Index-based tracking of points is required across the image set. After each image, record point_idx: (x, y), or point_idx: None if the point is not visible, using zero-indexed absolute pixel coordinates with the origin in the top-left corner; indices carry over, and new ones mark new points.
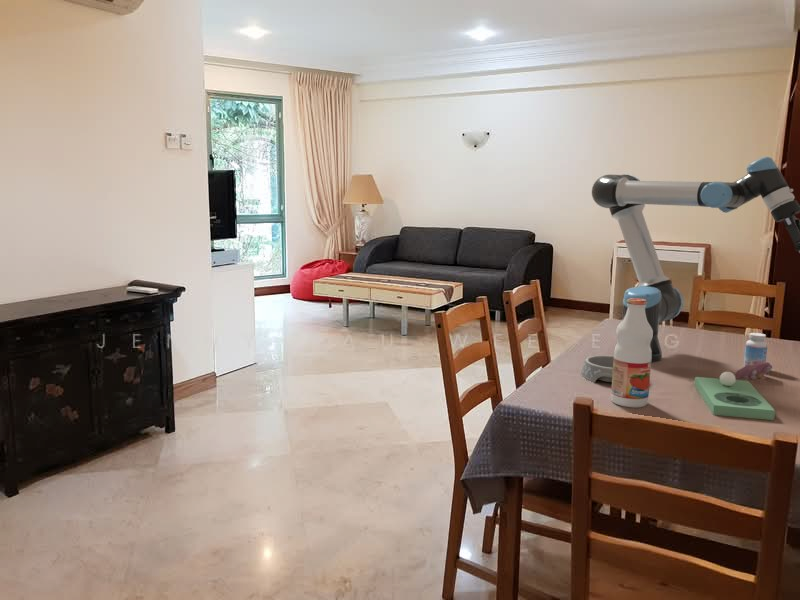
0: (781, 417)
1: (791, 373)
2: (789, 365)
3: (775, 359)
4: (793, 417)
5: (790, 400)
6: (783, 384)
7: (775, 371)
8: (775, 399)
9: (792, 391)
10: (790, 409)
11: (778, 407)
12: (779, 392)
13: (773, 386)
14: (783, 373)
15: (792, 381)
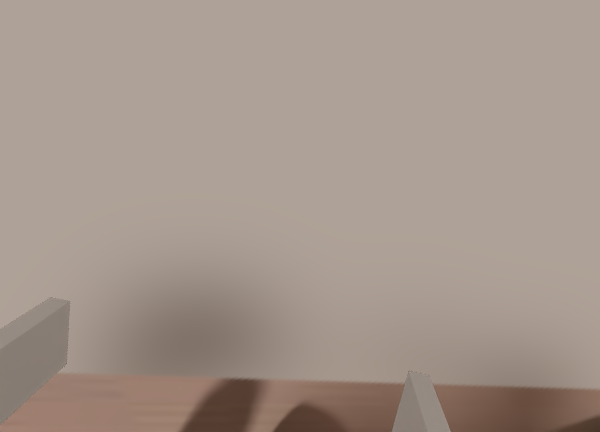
0: (585, 411)
1: (186, 381)
2: (87, 384)
3: (18, 425)
4: (569, 388)
5: (451, 391)
6: (317, 404)
7: (183, 424)
8: (464, 424)
9: (372, 384)
10: (519, 392)
11: (521, 417)
12: None
13: (351, 429)
14: (197, 403)
15: (274, 381)
